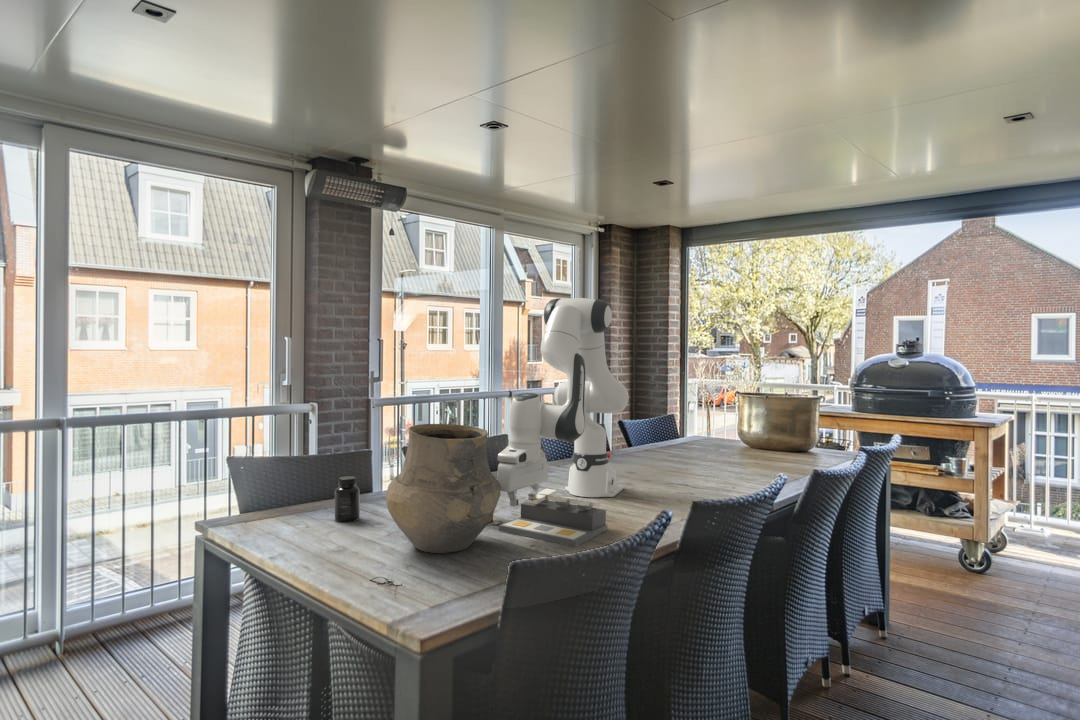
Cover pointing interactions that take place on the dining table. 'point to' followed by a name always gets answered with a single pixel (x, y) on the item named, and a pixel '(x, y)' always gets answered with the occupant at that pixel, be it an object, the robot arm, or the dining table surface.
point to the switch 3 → (584, 504)
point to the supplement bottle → (347, 500)
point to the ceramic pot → (443, 488)
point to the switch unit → (557, 523)
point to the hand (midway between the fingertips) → (523, 502)
